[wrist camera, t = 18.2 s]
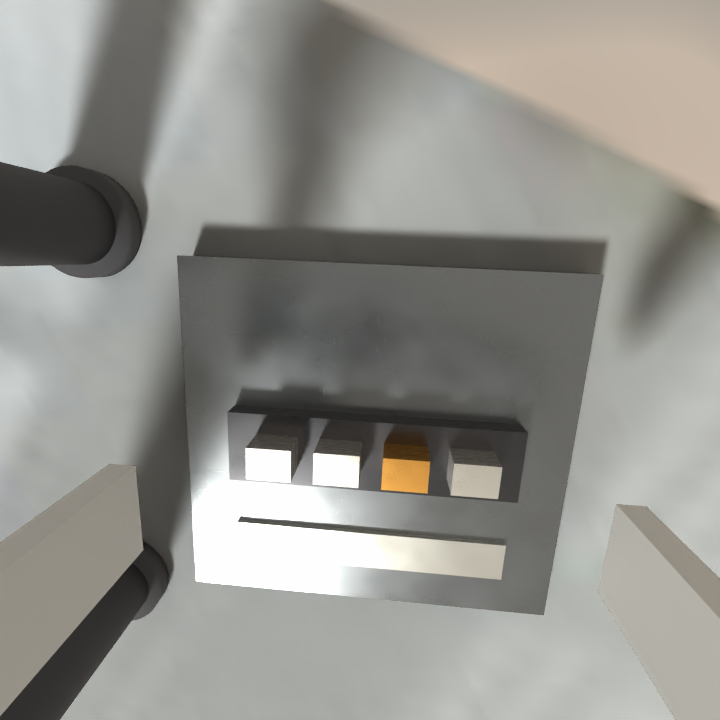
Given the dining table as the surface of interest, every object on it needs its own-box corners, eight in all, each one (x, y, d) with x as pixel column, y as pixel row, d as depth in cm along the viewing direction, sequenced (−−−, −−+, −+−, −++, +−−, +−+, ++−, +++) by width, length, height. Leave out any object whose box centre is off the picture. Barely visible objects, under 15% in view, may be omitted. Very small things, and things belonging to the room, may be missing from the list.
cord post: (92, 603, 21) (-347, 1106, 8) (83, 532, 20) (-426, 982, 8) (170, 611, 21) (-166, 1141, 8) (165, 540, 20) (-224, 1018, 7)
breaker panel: (207, 562, 20) (173, 618, 17) (192, 255, 16) (145, 255, 13) (534, 593, 19) (562, 659, 16) (587, 273, 15) (636, 277, 12)
